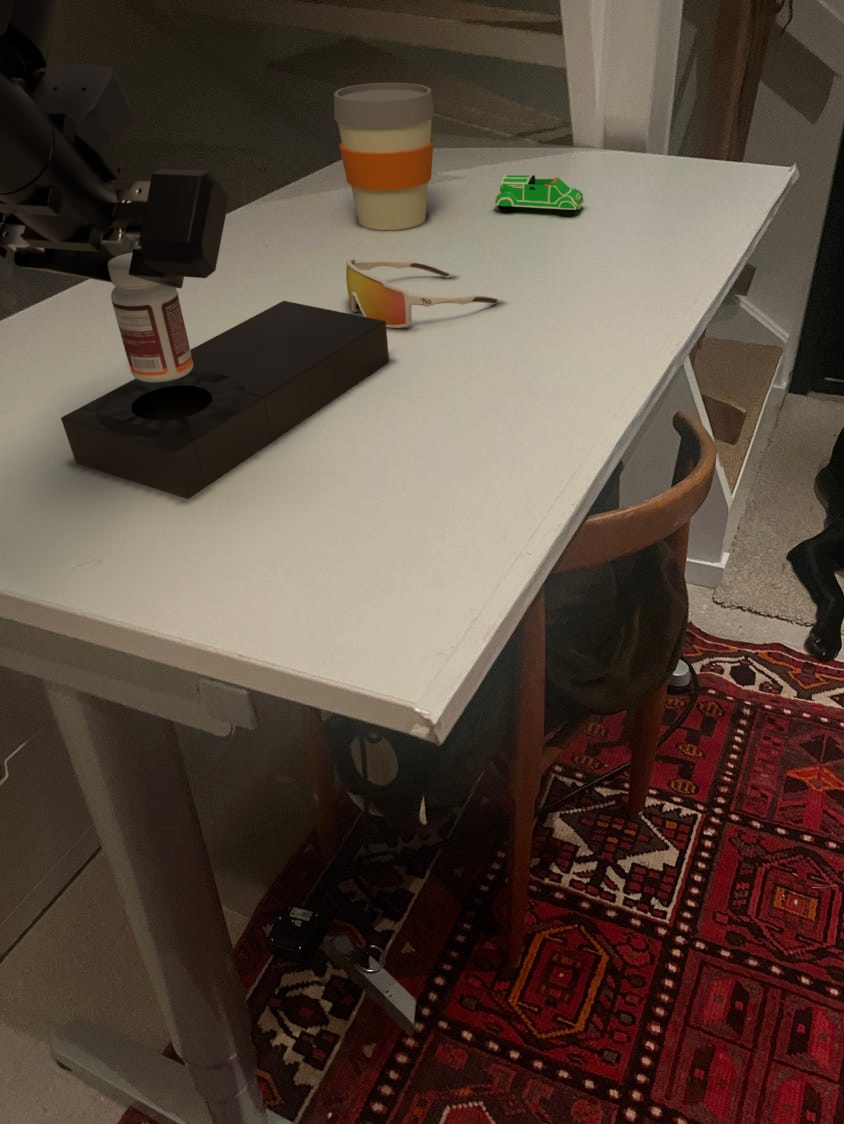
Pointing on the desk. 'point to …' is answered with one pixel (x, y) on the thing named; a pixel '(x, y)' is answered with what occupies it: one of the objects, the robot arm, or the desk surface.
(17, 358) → the desk surface
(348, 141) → the reusable coffee cup
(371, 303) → the sunglasses
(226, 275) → the desk surface
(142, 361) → the pill bottle
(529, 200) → the toy car
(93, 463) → the base
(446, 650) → the desk surface
